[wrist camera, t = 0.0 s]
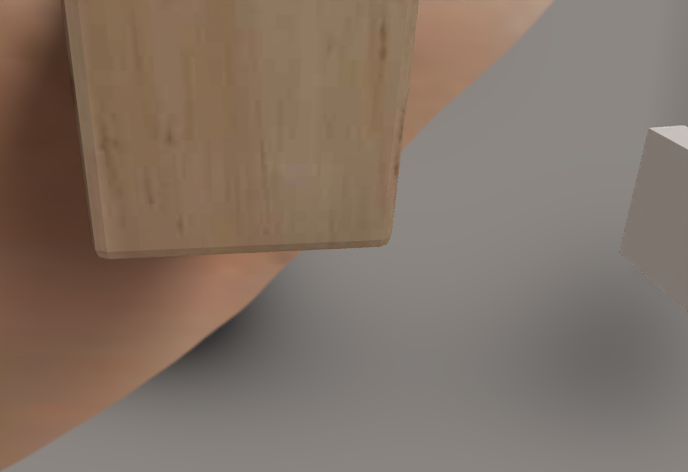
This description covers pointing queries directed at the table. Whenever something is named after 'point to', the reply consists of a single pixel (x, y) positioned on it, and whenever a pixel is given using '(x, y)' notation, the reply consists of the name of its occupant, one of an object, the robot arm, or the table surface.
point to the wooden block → (239, 122)
